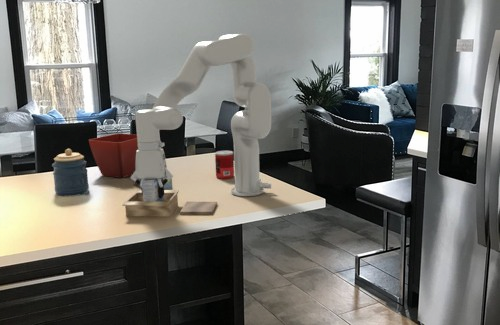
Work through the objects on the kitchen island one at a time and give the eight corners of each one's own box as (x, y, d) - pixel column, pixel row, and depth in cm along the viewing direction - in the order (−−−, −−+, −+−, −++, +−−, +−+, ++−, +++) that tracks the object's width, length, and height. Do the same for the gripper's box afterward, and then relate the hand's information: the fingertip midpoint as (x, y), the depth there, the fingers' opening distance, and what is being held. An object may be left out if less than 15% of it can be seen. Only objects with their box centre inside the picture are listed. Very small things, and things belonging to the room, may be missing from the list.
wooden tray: (179, 203, 197) (179, 190, 195) (168, 219, 179) (167, 204, 178) (138, 203, 198) (137, 190, 197) (123, 218, 180) (122, 204, 179)
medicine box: (155, 206, 184) (153, 181, 182) (143, 205, 185) (141, 181, 183) (163, 199, 191) (162, 175, 189) (151, 199, 192) (150, 175, 190)
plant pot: (90, 176, 241) (87, 139, 238) (121, 167, 257) (118, 132, 254) (121, 181, 232) (118, 142, 228) (151, 171, 247) (149, 135, 244)
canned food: (237, 176, 236) (236, 151, 233) (227, 180, 229) (226, 154, 227) (223, 174, 240) (222, 149, 237) (212, 178, 233) (211, 153, 231)
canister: (95, 191, 215) (91, 148, 212) (65, 198, 206) (61, 153, 202) (78, 186, 224) (74, 144, 220) (49, 193, 215) (44, 149, 211)
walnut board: (217, 204, 194) (217, 201, 194) (212, 214, 183) (211, 211, 182) (187, 204, 195) (186, 201, 195) (179, 214, 184) (179, 211, 183)
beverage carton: (155, 194, 211) (154, 177, 209) (133, 185, 226) (132, 169, 224) (173, 190, 216) (172, 174, 214) (150, 181, 230) (149, 166, 229)
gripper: (176, 143, 186) (179, 194, 191) (128, 144, 188) (132, 194, 192) (171, 147, 179) (175, 200, 183) (121, 148, 181) (126, 201, 185)
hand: (153, 196), depth 188 cm, fingers closed on medicine box, 4 cm apart
